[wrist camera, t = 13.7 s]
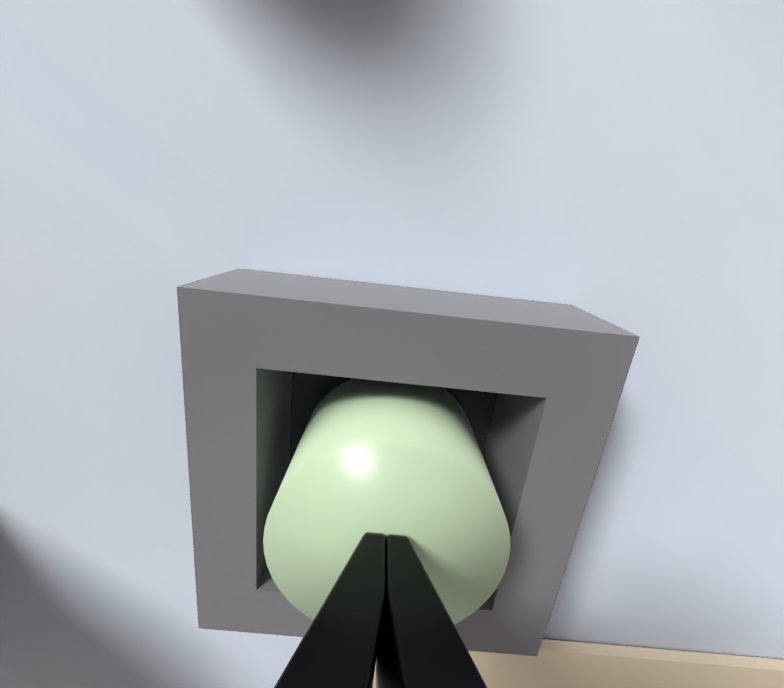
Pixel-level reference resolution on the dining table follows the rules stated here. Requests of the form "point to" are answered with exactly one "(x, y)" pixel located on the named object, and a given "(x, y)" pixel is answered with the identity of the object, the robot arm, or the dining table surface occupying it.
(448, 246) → the dining table surface
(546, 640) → the sheet
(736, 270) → the dining table surface
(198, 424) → the button housing
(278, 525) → the button
